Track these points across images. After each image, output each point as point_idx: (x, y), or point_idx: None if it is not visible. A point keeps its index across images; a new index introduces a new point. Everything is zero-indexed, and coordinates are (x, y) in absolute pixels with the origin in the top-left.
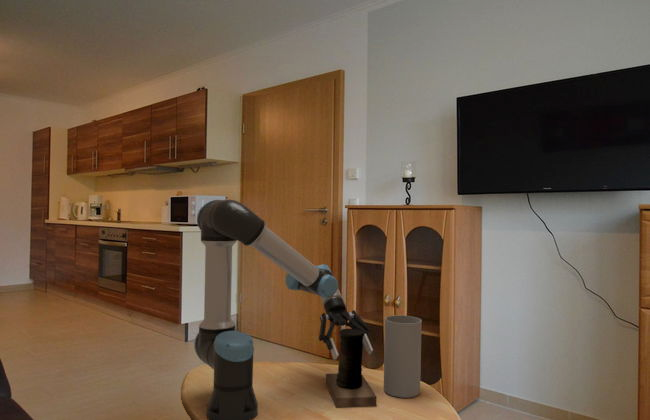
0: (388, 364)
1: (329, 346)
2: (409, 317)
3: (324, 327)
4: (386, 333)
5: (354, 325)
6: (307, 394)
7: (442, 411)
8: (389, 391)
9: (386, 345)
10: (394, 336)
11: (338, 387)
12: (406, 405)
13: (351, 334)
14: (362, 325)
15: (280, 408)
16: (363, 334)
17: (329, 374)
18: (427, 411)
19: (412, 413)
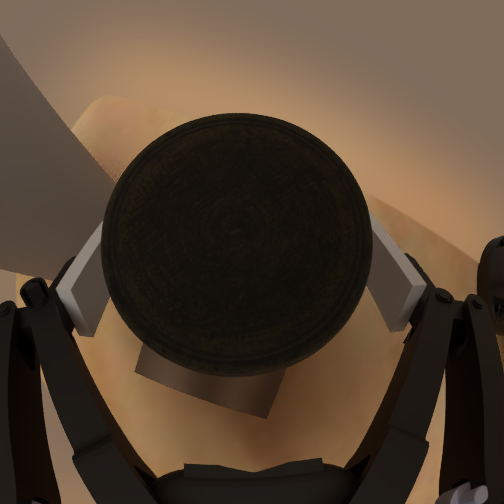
0: (92, 188)
1: (412, 258)
2: None
3: (487, 365)
4: (6, 143)
5: (92, 396)
6: (363, 334)
7: (103, 106)
8: None
9: (47, 171)
10: (27, 87)
11: None
12: (141, 150)
13: (299, 140)
14: (16, 375)
15: (443, 271)
16: (161, 137)
17: (257, 409)
18: (127, 112)
19: (163, 113)
